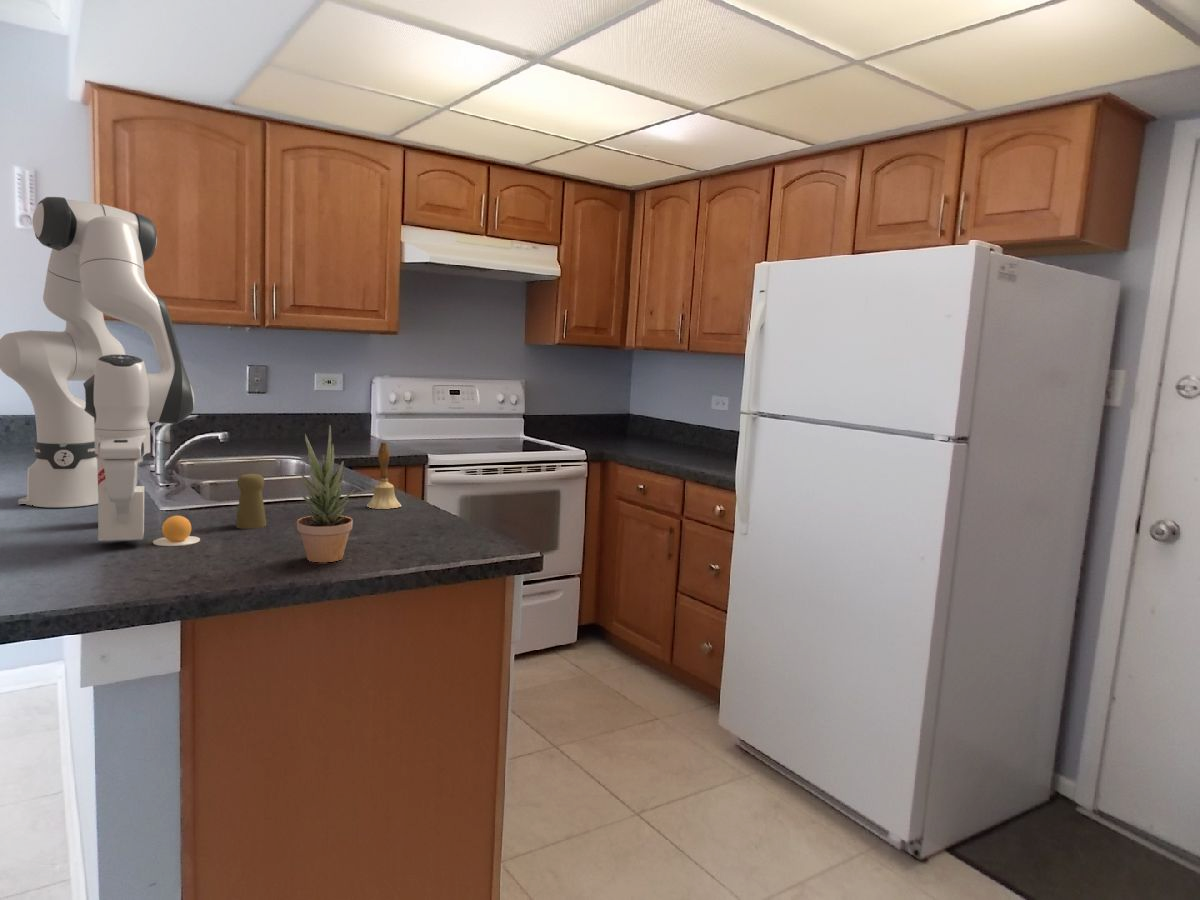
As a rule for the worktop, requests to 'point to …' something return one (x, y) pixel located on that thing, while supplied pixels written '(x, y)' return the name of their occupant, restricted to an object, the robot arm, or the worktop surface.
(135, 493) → the cream cube
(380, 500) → the hand bell
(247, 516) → the cork
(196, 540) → the cream domed disc
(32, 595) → the worktop surface
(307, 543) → the potted plant
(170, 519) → the ball
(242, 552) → the worktop surface
